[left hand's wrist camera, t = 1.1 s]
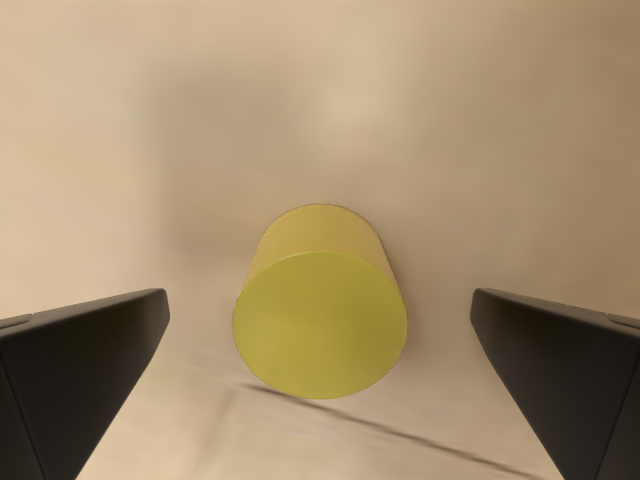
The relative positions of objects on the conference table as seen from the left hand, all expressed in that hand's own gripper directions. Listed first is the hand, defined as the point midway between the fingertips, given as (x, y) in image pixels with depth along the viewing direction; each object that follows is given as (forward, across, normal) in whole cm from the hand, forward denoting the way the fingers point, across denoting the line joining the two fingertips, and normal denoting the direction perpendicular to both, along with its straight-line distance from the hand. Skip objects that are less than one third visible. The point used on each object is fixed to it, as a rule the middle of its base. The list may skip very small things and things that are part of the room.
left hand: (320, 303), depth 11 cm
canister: (+3, 0, 0) cm, 3 cm away
